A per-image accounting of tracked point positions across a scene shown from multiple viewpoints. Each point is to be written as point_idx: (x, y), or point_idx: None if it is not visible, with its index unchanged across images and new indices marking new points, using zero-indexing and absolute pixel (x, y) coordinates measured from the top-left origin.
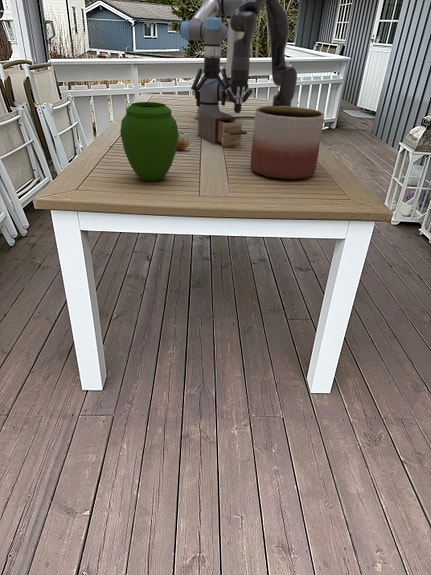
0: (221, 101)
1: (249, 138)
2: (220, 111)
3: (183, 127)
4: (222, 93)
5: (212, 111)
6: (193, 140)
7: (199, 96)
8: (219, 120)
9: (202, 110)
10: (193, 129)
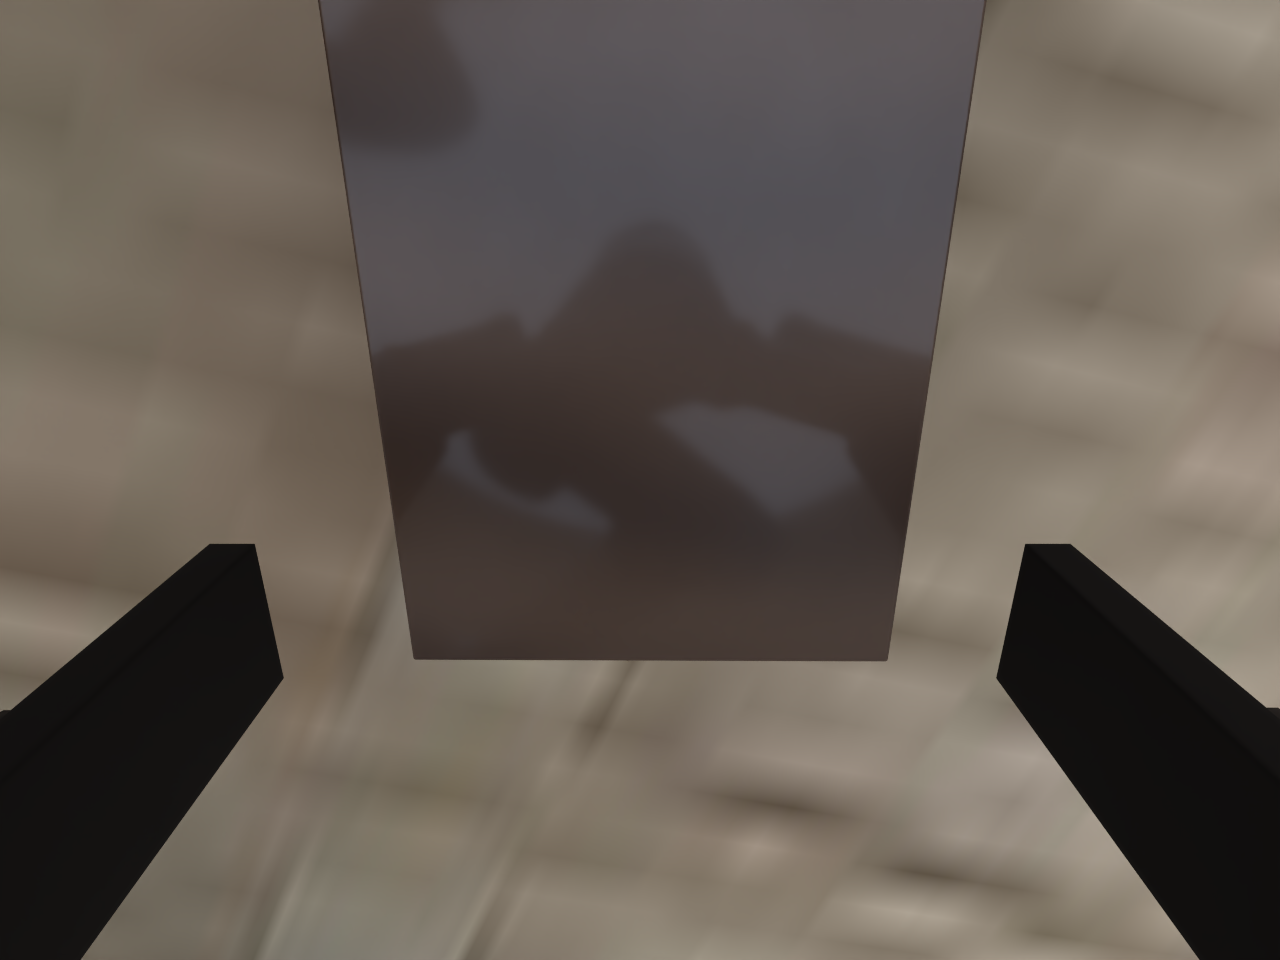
0: (237, 733)
1: (55, 62)
2: (402, 465)
3: (762, 858)
4: (48, 918)
5: (611, 499)
6: (1031, 158)
7: (1256, 732)
8: None
9: (795, 646)
10: (692, 757)
